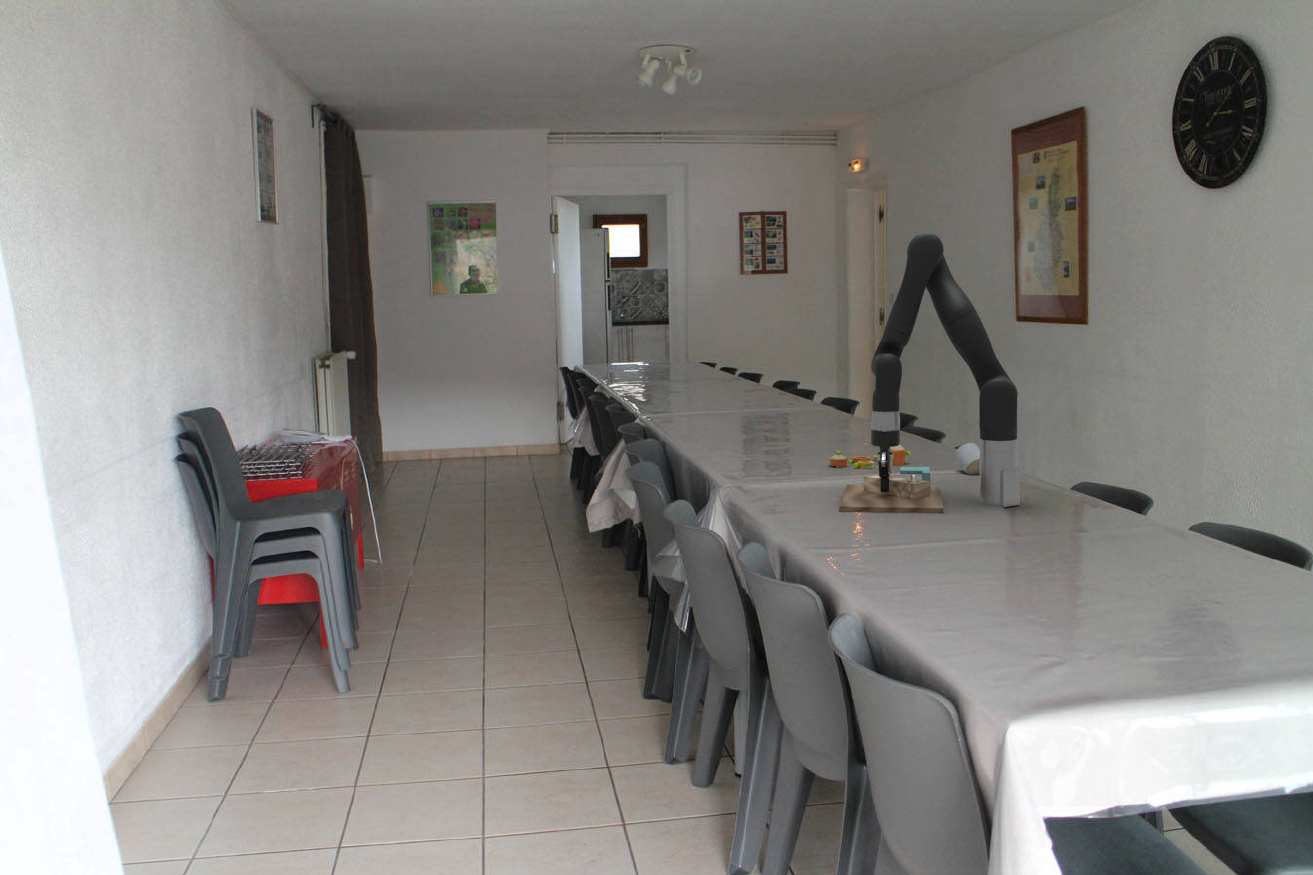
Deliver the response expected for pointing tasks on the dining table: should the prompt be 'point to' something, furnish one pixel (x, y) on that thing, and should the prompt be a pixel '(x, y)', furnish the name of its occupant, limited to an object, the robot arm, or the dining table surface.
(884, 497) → the walnut board
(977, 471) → the ceramic mug
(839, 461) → the toy tea set
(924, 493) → the maple link
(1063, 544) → the dining table surface
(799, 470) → the dining table surface
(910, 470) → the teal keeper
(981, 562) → the dining table surface
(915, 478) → the rod
